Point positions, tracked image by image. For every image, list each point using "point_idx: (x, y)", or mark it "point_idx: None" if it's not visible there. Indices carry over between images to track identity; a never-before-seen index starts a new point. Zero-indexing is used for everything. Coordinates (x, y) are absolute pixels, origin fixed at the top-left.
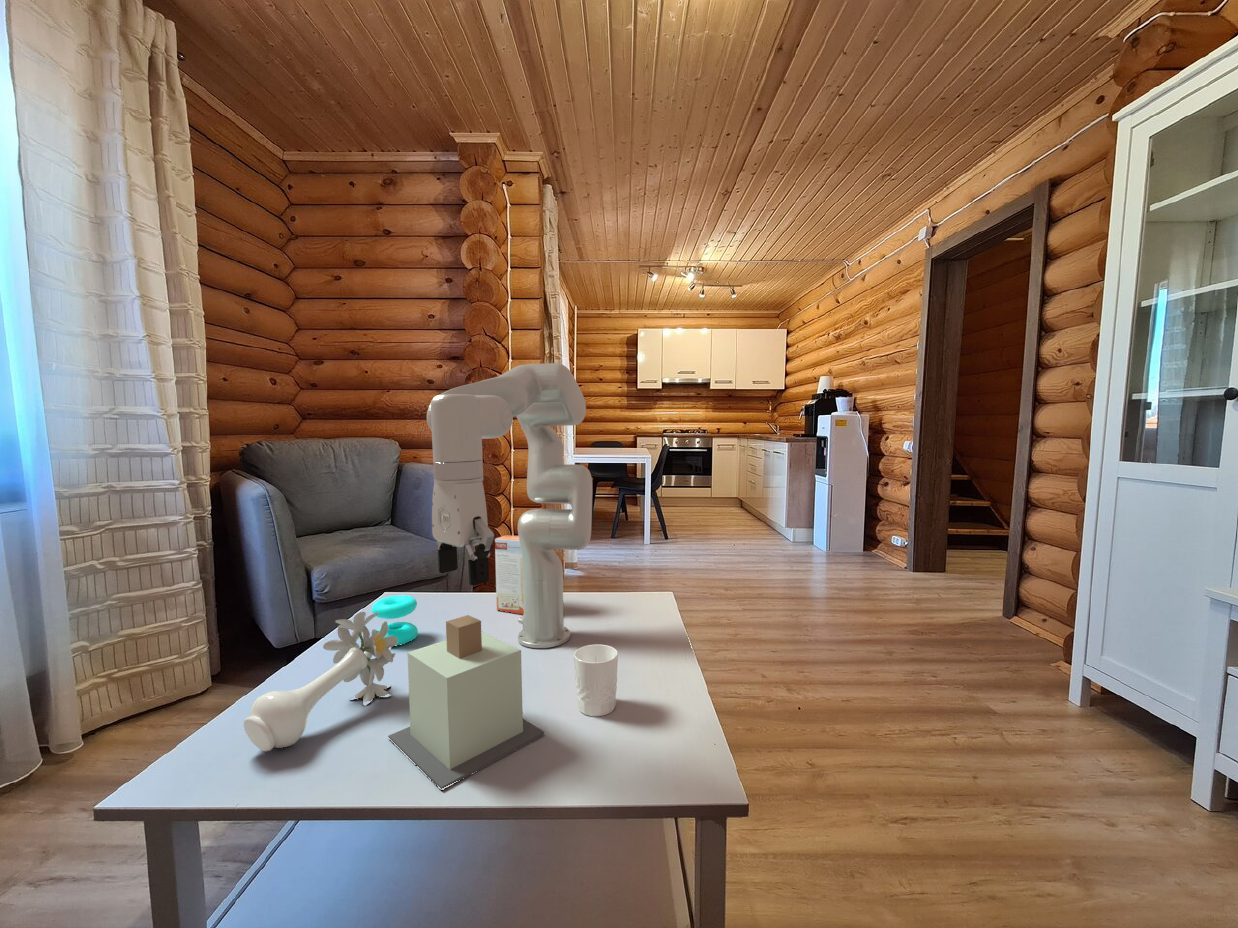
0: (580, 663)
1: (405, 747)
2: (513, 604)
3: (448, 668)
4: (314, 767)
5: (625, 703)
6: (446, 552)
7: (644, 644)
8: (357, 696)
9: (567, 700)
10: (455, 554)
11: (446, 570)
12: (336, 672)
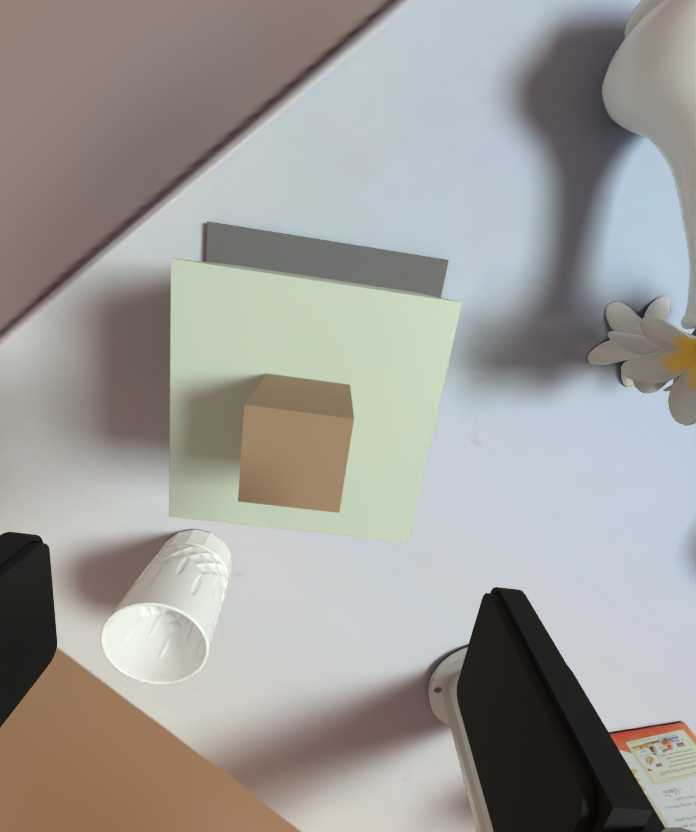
0: (155, 598)
1: (379, 257)
2: (649, 751)
3: (230, 306)
4: (494, 101)
5: None
6: (545, 810)
7: (289, 752)
8: (654, 309)
9: (258, 545)
10: (499, 825)
11: (478, 630)
12: None
